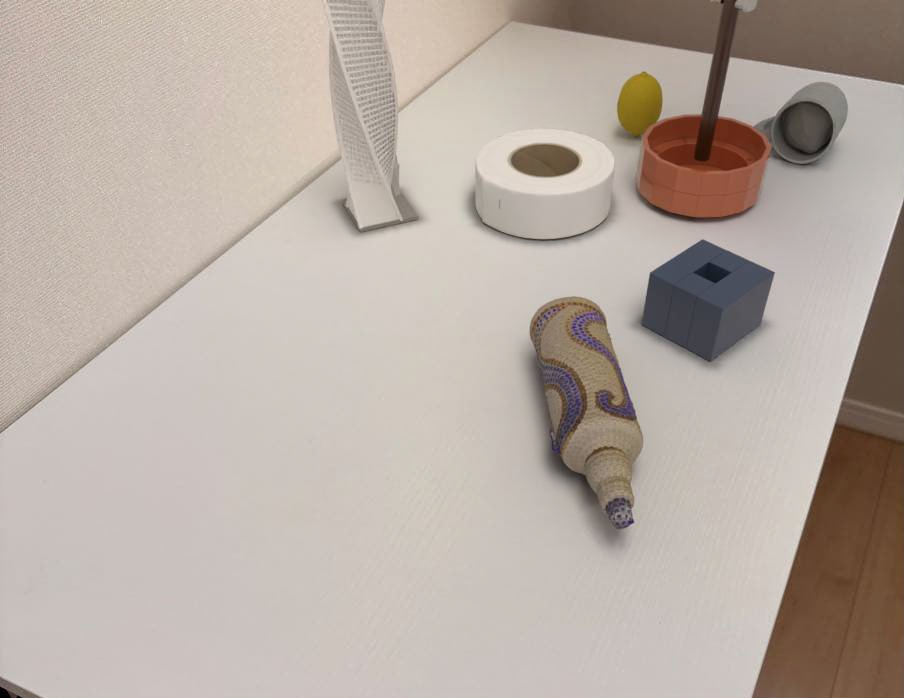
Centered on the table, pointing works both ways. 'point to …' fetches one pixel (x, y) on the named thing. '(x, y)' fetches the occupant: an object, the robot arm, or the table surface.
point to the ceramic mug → (807, 123)
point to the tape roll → (543, 183)
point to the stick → (716, 79)
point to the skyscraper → (365, 113)
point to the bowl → (702, 167)
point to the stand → (706, 299)
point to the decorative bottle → (588, 401)
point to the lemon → (639, 103)
